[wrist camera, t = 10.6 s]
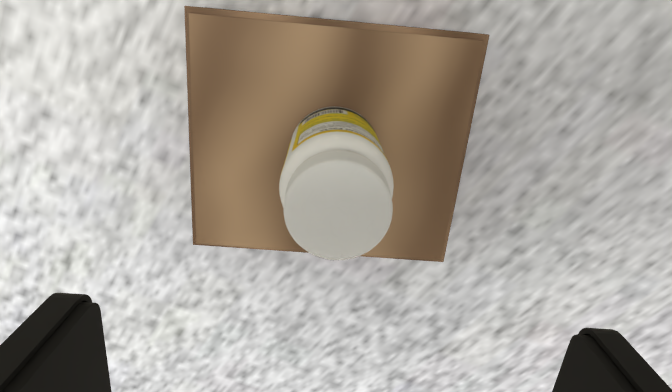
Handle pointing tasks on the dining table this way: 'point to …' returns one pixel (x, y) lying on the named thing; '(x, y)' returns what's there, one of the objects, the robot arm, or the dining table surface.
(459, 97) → the walnut stand
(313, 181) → the supplement bottle
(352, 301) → the dining table surface
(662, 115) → the dining table surface
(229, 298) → the dining table surface
